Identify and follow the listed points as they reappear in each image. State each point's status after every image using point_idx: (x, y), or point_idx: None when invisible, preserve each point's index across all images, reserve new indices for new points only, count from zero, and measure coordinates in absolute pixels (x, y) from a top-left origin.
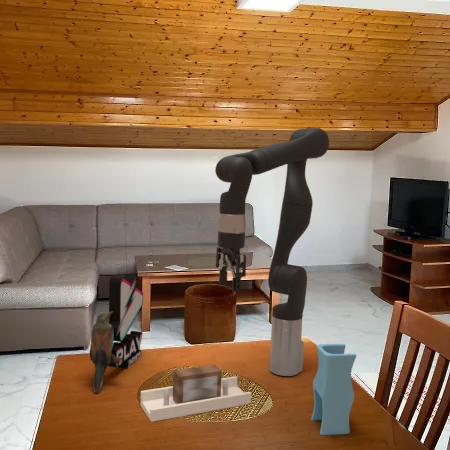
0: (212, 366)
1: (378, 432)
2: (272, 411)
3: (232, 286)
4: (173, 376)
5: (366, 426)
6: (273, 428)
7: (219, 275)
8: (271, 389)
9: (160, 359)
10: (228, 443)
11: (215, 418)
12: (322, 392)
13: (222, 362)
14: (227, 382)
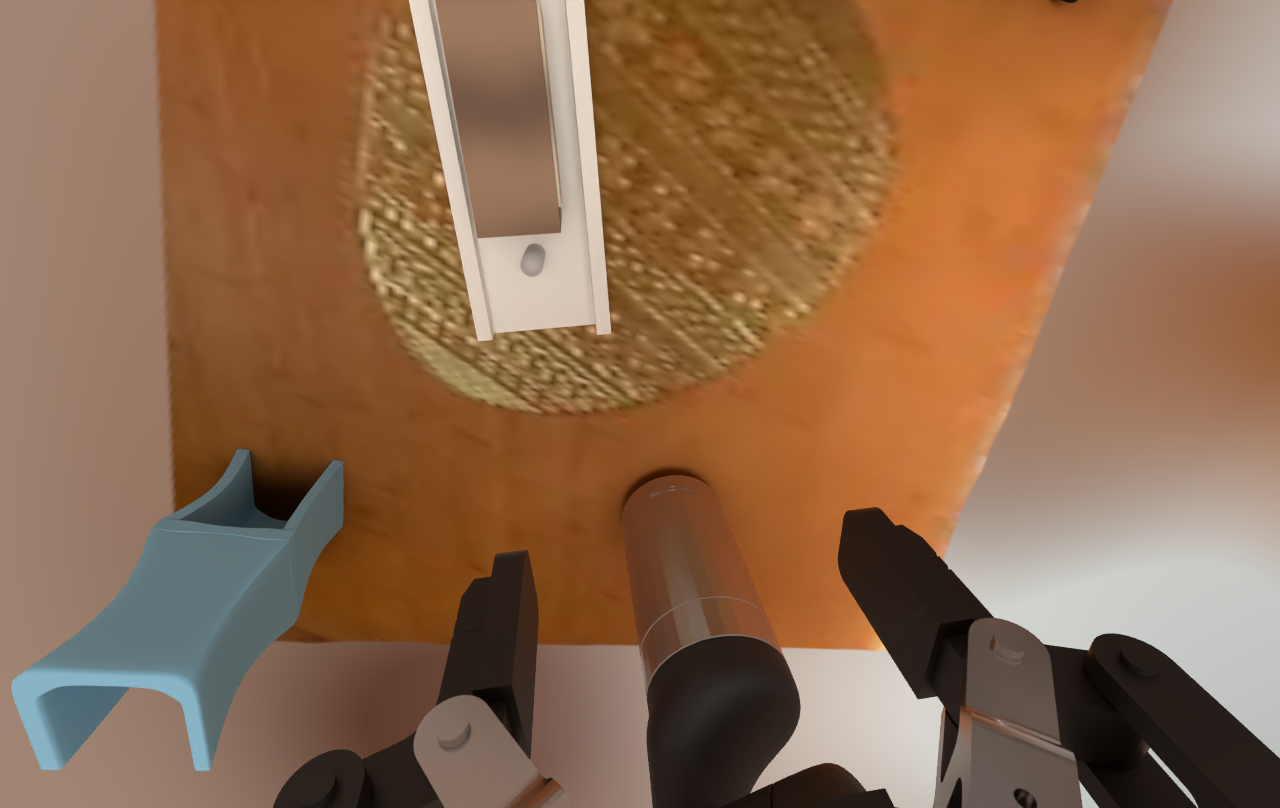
0: (539, 212)
1: None
2: (414, 374)
3: (512, 585)
4: None
5: None
6: (289, 331)
7: (930, 574)
8: (576, 431)
9: (999, 109)
10: (175, 128)
11: (386, 154)
12: (164, 536)
13: (846, 355)
14: (522, 269)
